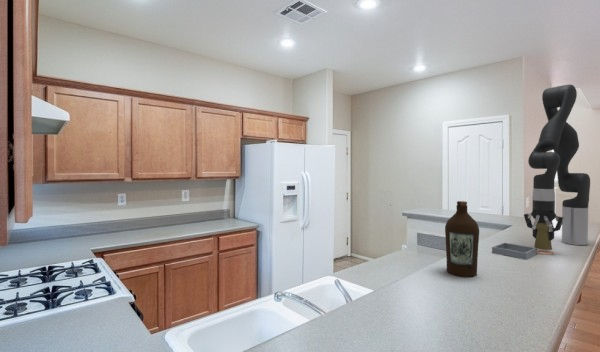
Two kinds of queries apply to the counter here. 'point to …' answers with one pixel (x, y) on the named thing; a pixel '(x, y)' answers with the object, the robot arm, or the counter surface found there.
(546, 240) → the cork
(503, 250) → the bin frame
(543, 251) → the salmon pink disc
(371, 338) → the counter surface
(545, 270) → the counter surface
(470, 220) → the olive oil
